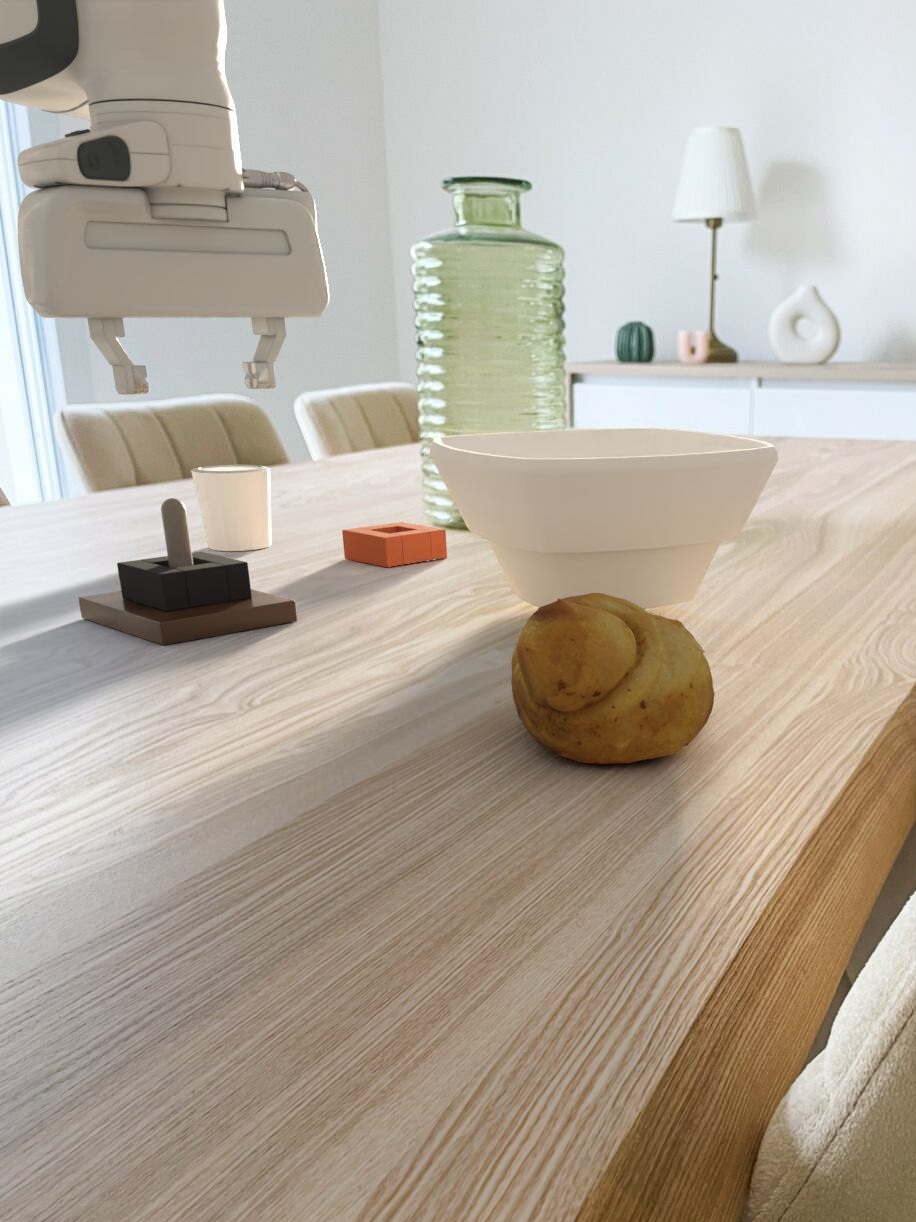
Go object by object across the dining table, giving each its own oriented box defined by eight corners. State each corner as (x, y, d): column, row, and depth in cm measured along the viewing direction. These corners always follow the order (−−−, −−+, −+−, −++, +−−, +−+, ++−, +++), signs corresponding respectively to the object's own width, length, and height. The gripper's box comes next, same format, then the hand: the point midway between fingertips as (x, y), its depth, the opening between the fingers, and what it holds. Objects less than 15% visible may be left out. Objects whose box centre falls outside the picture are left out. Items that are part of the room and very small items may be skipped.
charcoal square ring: (122, 598, 91) (116, 562, 90) (206, 586, 95) (201, 551, 94) (166, 612, 87) (160, 574, 86) (252, 598, 91) (247, 562, 90)
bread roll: (497, 708, 71) (490, 559, 67) (671, 698, 73) (672, 552, 69) (529, 785, 59) (522, 609, 56) (734, 770, 61) (739, 599, 58)
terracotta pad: (344, 558, 114) (341, 529, 113) (403, 550, 118) (401, 522, 117) (387, 567, 110) (385, 537, 109) (447, 558, 114) (445, 529, 113)
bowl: (409, 594, 99) (397, 435, 95) (664, 570, 109) (664, 424, 104) (517, 656, 81) (509, 463, 77) (812, 620, 91) (820, 447, 86)
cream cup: (219, 554, 116) (208, 473, 113) (189, 545, 121) (179, 467, 118) (290, 546, 120) (282, 468, 117) (259, 537, 125) (250, 462, 122)
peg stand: (81, 618, 92) (60, 497, 89) (210, 597, 98) (195, 484, 95) (163, 645, 84) (143, 514, 81) (297, 621, 91) (284, 499, 88)
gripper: (286, 177, 92) (307, 384, 98) (-11, 153, 79) (31, 395, 84) (336, 170, 88) (354, 387, 94) (31, 145, 75) (73, 399, 80)
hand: (199, 391), depth 89 cm, fingers open, 8 cm apart
